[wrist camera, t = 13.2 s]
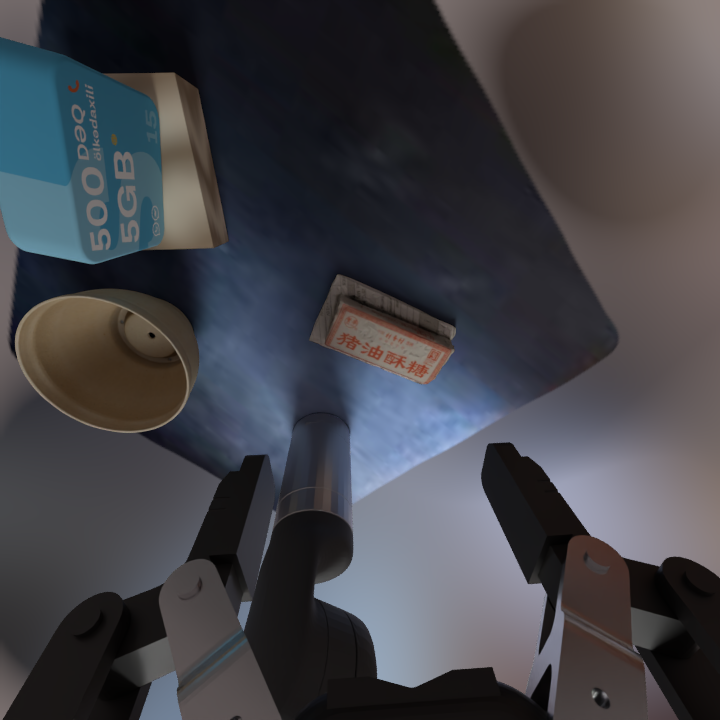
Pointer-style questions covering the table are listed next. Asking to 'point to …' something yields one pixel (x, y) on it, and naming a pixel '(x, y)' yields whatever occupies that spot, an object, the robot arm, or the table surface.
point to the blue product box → (76, 159)
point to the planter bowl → (110, 358)
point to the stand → (183, 163)
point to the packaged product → (382, 331)
